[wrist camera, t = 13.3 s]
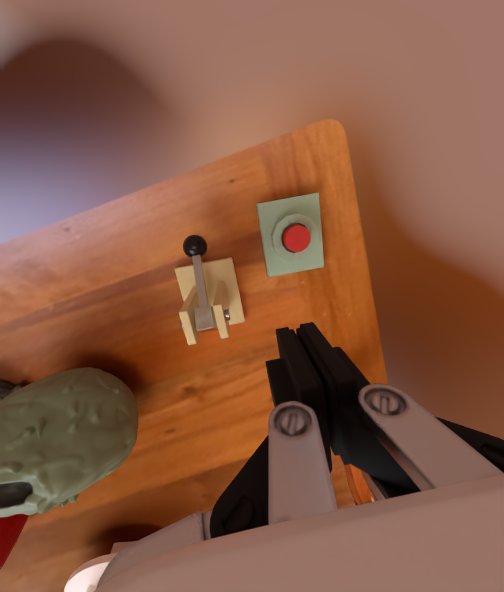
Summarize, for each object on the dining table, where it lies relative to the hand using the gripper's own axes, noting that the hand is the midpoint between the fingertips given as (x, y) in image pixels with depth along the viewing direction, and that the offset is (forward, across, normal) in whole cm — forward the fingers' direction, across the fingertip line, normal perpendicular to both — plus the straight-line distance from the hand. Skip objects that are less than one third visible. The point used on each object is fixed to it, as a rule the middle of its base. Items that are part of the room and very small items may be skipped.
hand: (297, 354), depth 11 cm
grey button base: (+29, -7, -2) cm, 30 cm away
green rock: (+29, +30, +18) cm, 46 cm away
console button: (+26, -7, -2) cm, 27 cm away
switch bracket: (+29, +7, +5) cm, 30 cm away
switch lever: (+23, +7, +2) cm, 24 cm away
